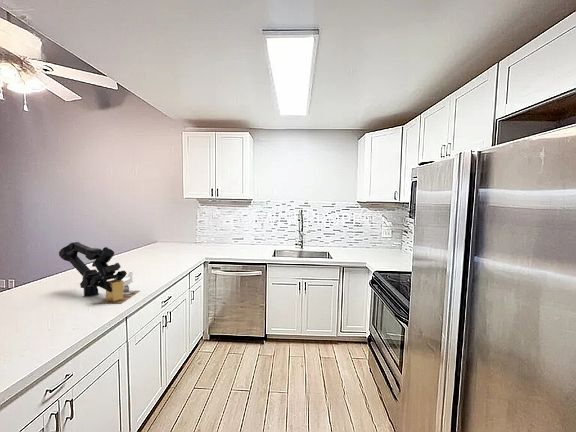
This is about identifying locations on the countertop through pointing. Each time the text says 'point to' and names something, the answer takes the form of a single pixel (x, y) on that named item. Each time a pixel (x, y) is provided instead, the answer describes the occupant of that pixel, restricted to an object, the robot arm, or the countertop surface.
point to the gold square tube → (115, 290)
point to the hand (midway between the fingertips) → (116, 290)
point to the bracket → (127, 279)
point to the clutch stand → (126, 296)
